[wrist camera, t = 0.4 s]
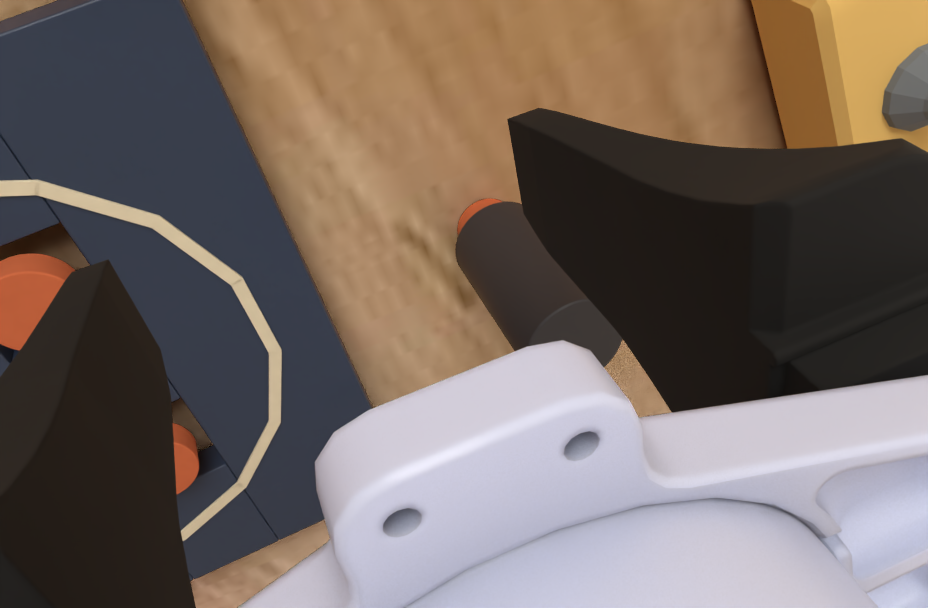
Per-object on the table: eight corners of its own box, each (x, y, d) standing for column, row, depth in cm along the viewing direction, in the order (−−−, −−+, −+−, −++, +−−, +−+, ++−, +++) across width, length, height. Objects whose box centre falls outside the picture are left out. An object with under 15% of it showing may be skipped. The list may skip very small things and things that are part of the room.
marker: (532, 241, 29) (630, 360, 24) (454, 275, 29) (537, 404, 23) (515, 170, 27) (618, 282, 22) (432, 205, 27) (516, 328, 21)
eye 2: (209, 458, 28) (212, 479, 27) (136, 490, 28) (138, 513, 27) (174, 408, 26) (177, 429, 26) (97, 442, 26) (97, 464, 25)
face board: (397, 460, 33) (407, 484, 32) (-45, 663, 31) (-50, 694, 30) (164, -40, 20) (167, -27, 19) (-622, 245, 18) (-664, 277, 17)
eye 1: (104, 308, 24) (104, 328, 23) (16, 345, 23) (13, 366, 22) (54, 238, 22) (53, 256, 21) (-42, 276, 22) (-47, 296, 21)
